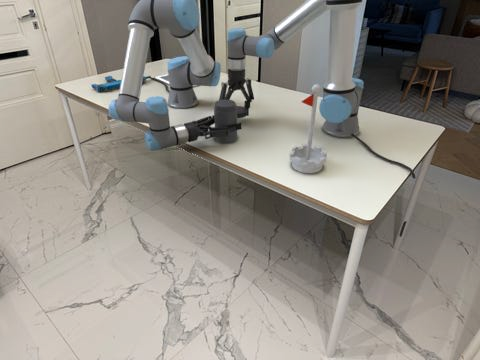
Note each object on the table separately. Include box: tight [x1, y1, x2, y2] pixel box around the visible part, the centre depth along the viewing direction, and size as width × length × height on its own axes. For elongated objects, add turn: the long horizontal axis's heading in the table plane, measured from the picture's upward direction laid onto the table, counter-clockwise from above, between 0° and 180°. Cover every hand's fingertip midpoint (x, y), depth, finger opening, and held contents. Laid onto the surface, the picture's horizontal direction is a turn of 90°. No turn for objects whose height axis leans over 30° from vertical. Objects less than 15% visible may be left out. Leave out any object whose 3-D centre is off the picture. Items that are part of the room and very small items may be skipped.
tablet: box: [153, 73, 200, 88], centre depth 212 cm, size 32×20×1 cm, turn 41°
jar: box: [213, 99, 238, 144], centre depth 140 cm, size 9×9×16 cm
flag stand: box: [289, 83, 328, 174], centre depth 116 cm, size 13×13×30 cm
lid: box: [236, 105, 248, 119], centre depth 156 cm, size 10×10×2 cm
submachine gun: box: [90, 75, 152, 92], centre depth 206 cm, size 34×4×25 cm
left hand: (235, 121), depth 142 cm, fingers closed on jar, 9 cm apart
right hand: (236, 117), depth 157 cm, fingers closed on lid, 10 cm apart
